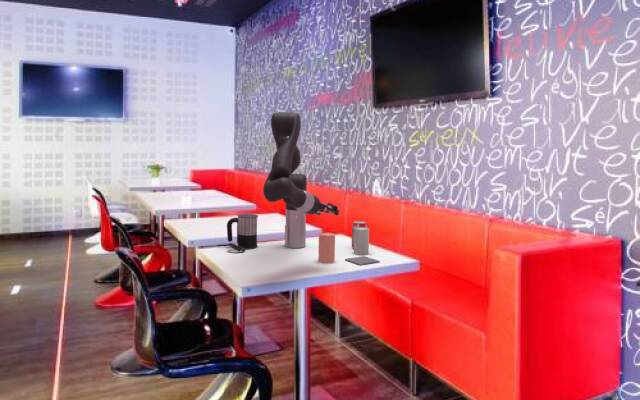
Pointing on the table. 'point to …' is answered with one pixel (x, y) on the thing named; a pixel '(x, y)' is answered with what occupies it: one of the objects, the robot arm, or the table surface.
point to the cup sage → (361, 240)
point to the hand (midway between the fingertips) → (328, 212)
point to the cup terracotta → (326, 247)
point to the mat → (362, 260)
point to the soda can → (355, 224)
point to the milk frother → (244, 232)
